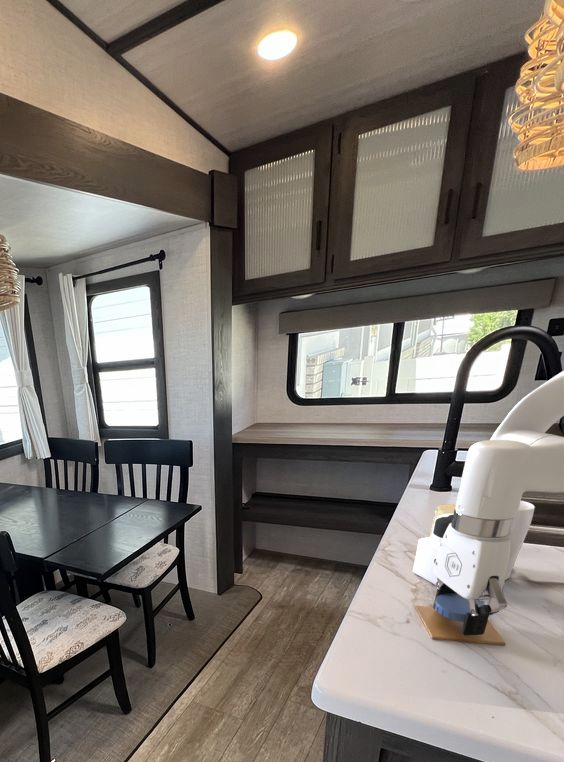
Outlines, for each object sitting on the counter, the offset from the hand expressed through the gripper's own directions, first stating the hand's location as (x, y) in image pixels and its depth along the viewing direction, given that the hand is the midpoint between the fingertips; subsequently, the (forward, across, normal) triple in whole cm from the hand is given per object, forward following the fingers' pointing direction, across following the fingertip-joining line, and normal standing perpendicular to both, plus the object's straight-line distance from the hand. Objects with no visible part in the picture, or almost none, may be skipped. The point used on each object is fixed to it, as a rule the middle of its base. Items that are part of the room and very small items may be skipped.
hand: (457, 620), depth 79 cm
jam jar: (+1, -31, +17) cm, 35 cm away
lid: (-3, 0, 0) cm, 3 cm away
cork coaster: (+1, 0, 0) cm, 1 cm away
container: (+1, -17, +8) cm, 18 cm away
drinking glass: (+1, -16, +17) cm, 23 cm away
